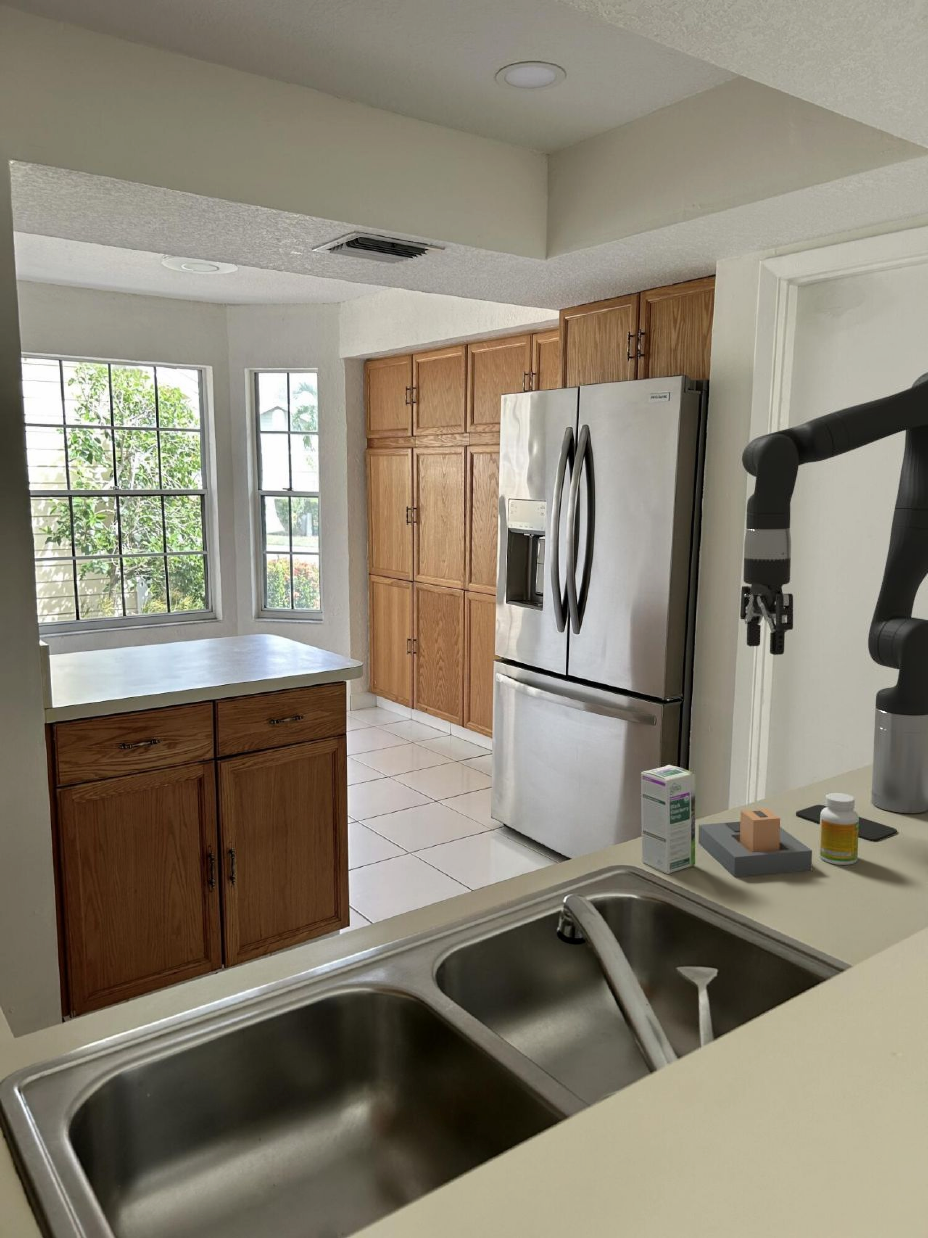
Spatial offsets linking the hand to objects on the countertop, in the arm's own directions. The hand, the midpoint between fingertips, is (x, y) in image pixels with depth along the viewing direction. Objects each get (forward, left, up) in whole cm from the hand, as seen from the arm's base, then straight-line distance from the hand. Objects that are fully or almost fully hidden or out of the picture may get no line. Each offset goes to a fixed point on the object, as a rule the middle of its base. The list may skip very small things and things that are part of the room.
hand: (764, 650), depth 156 cm
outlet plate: (+11, +20, -28) cm, 36 cm away
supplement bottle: (-1, +23, -28) cm, 36 cm away
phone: (-10, +10, -29) cm, 32 cm away
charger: (+11, +22, -28) cm, 37 cm away
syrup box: (+25, +20, -28) cm, 42 cm away
